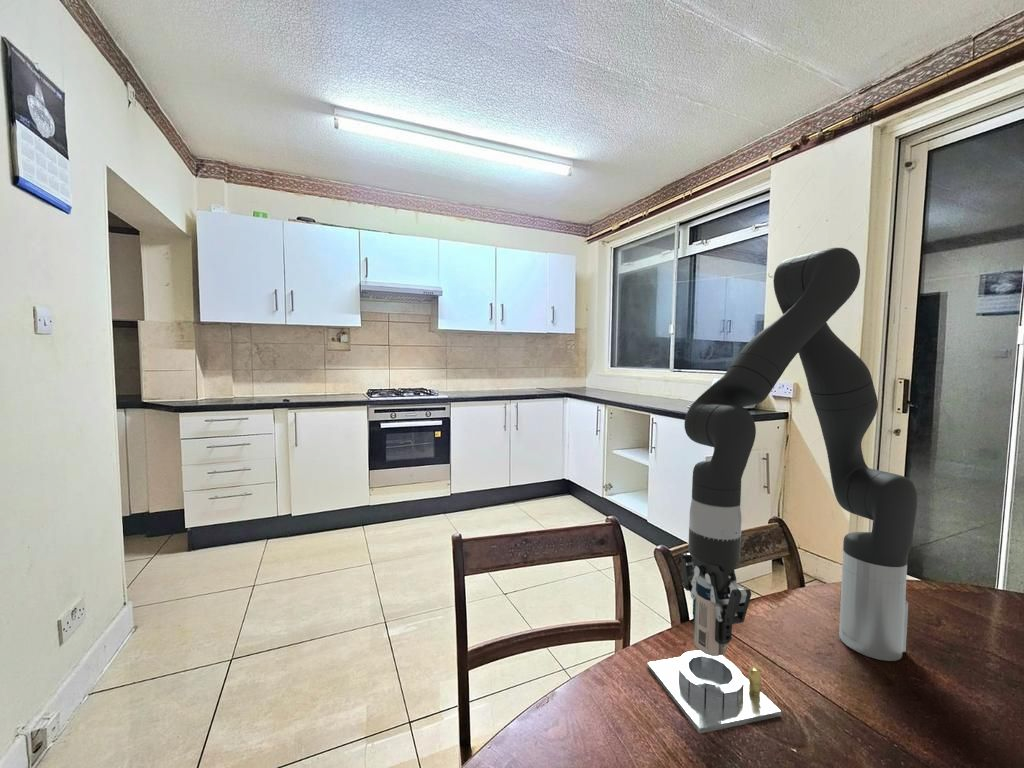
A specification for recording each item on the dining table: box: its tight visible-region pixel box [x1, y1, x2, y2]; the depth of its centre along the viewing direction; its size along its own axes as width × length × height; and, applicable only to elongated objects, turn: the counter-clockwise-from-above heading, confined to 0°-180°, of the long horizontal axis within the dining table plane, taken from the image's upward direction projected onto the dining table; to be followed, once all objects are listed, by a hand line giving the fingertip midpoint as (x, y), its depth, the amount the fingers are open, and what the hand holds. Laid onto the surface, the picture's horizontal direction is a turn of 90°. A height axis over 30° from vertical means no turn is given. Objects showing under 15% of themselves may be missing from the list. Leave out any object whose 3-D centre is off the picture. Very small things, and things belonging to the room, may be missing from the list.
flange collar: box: [647, 649, 782, 735], centre depth 71 cm, size 14×14×5 cm
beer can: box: [693, 575, 728, 656], centre depth 70 cm, size 5×5×12 cm
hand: (710, 631), depth 70 cm, fingers closed on beer can, 4 cm apart
